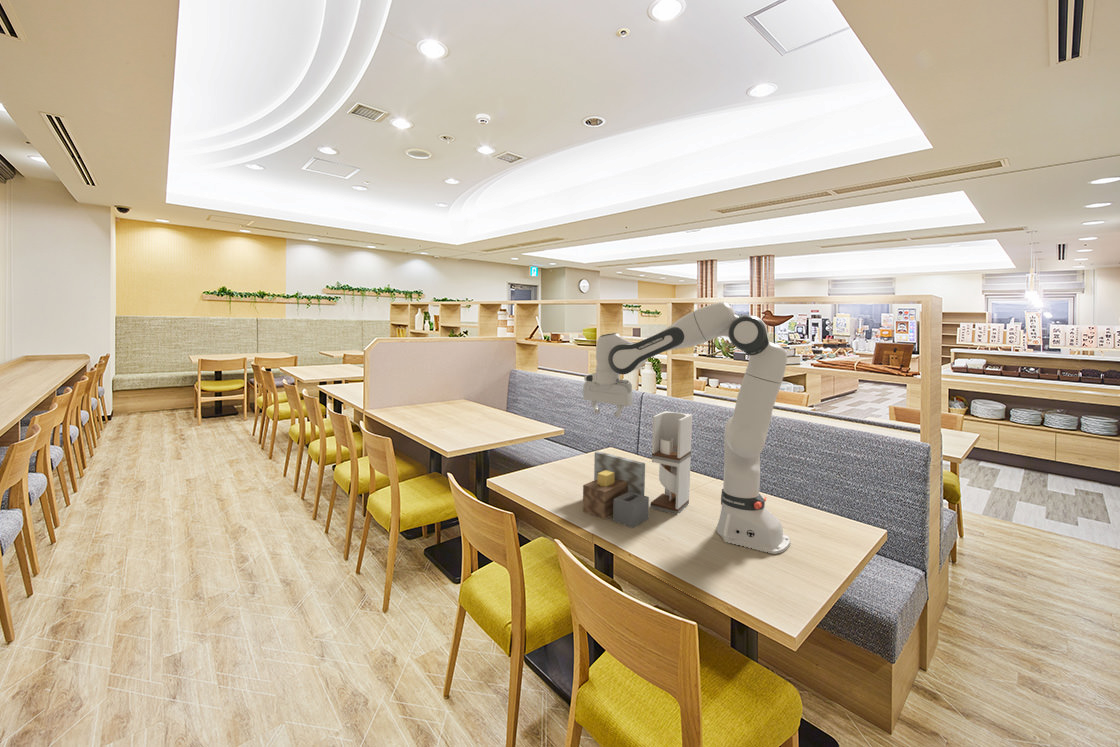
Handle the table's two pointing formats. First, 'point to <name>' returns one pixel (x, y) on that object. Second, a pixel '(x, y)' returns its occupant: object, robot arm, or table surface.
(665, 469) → the display case
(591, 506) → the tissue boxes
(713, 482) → the table surface
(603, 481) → the yellow tabbed block
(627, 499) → the dark gray slotted block
